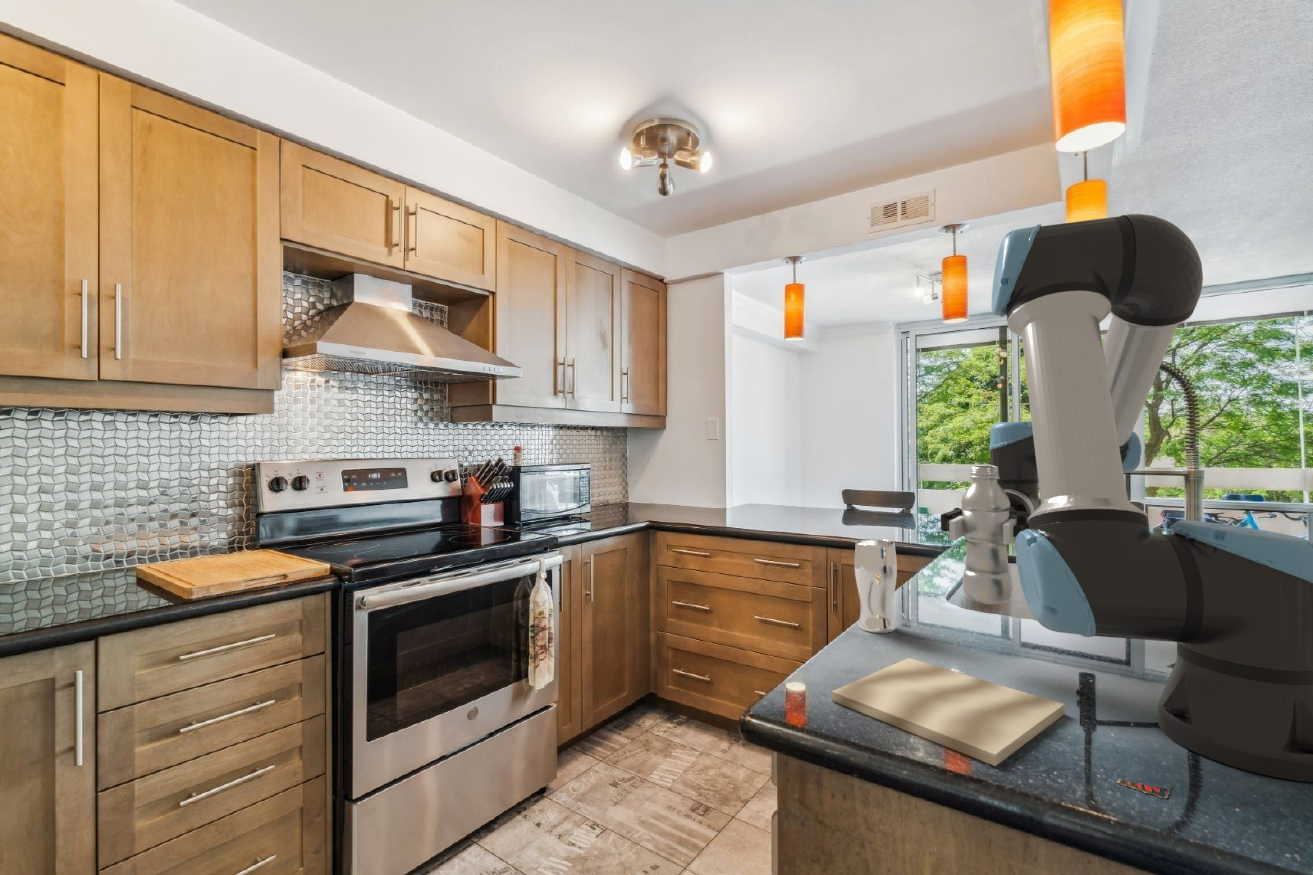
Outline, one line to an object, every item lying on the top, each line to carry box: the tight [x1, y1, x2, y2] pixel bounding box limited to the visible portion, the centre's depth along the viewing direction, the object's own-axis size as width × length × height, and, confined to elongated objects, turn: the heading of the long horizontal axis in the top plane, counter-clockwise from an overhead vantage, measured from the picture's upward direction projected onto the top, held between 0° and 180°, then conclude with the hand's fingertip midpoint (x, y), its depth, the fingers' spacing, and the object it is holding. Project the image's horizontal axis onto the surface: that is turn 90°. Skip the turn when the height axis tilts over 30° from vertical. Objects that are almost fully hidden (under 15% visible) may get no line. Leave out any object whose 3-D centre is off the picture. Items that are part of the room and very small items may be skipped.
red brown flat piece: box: [1116, 769, 1173, 799], centre depth 59 cm, size 5×5×1 cm
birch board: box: [831, 657, 1065, 767], centre depth 75 cm, size 20×18×1 cm
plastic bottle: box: [960, 465, 1013, 605], centre depth 89 cm, size 6×7×20 cm
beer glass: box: [854, 538, 898, 634], centre depth 106 cm, size 7×7×15 cm
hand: (978, 532), depth 85 cm, fingers closed on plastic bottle, 6 cm apart
